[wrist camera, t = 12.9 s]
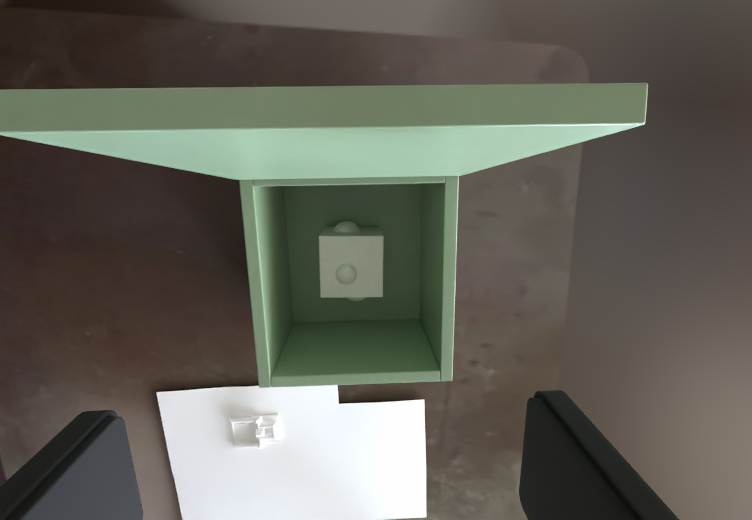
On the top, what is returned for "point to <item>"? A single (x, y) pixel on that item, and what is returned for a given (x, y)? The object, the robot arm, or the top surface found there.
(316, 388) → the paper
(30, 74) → the top surface
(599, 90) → the bin lid
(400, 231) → the trashcan
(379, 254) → the white cube with domes
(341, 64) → the top surface
